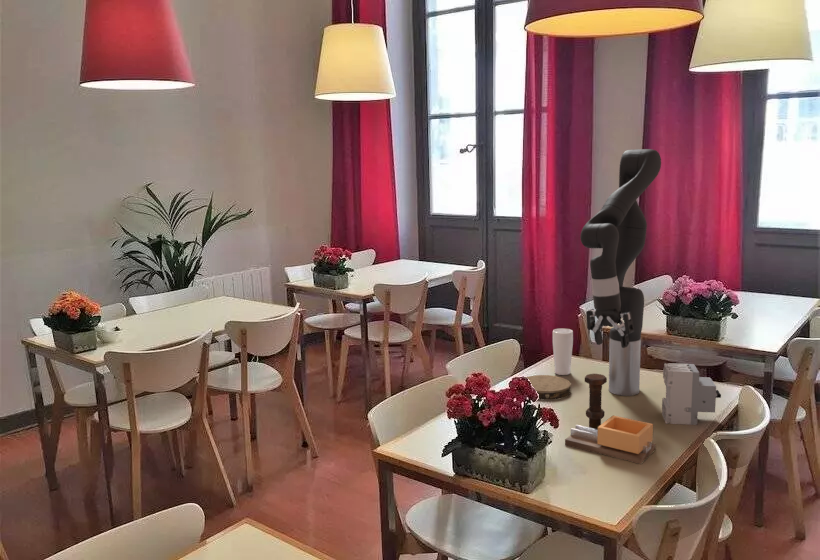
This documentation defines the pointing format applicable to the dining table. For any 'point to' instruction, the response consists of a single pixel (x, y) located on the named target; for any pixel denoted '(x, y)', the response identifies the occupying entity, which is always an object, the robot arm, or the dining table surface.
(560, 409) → the dining table surface
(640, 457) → the rail board
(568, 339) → the drinking glass
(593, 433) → the rail
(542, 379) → the brown round disc
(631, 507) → the dining table surface
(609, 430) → the orange open box
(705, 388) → the circuit breaker
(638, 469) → the dining table surface
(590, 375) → the bolt
